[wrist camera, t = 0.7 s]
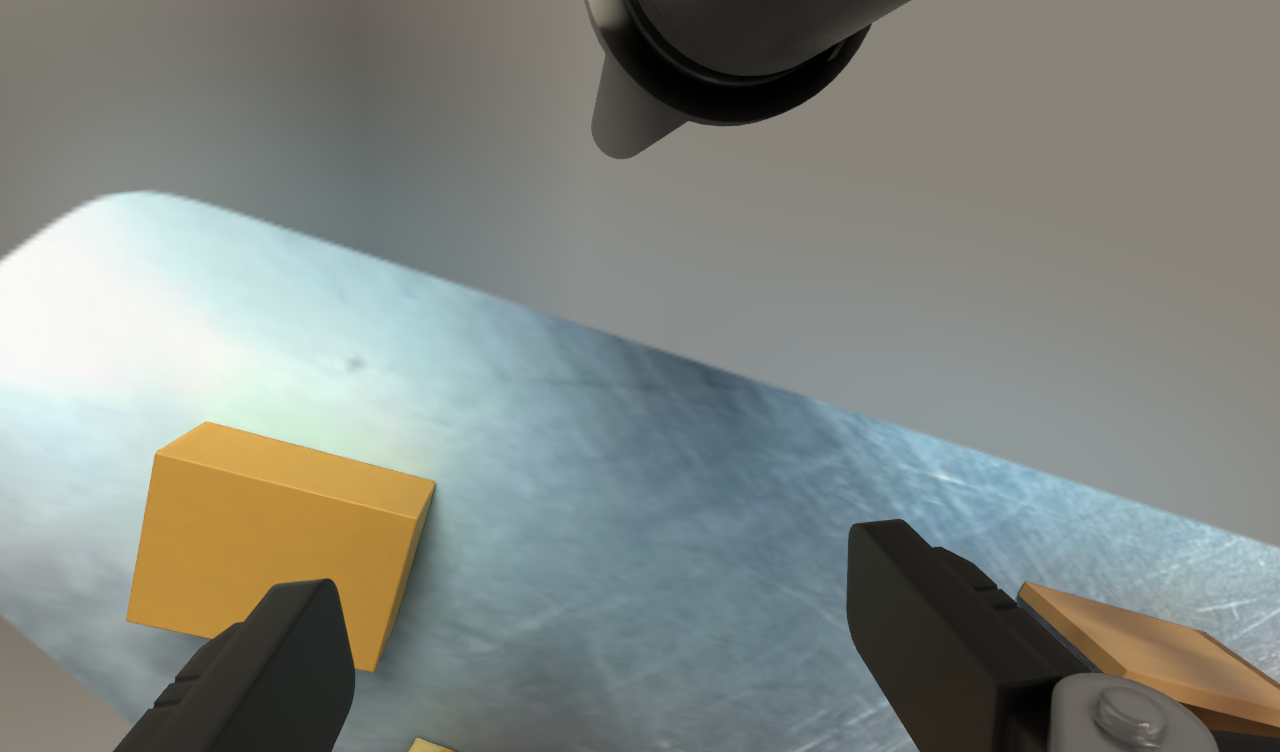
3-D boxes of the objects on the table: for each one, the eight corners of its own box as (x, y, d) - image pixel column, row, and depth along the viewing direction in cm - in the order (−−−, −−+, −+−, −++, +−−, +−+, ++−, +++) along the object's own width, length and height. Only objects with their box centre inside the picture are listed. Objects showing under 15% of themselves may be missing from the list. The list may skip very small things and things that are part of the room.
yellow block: (176, 572, 27) (124, 622, 23) (206, 420, 25) (154, 451, 22) (395, 621, 28) (373, 674, 25) (436, 480, 27) (418, 518, 23)
